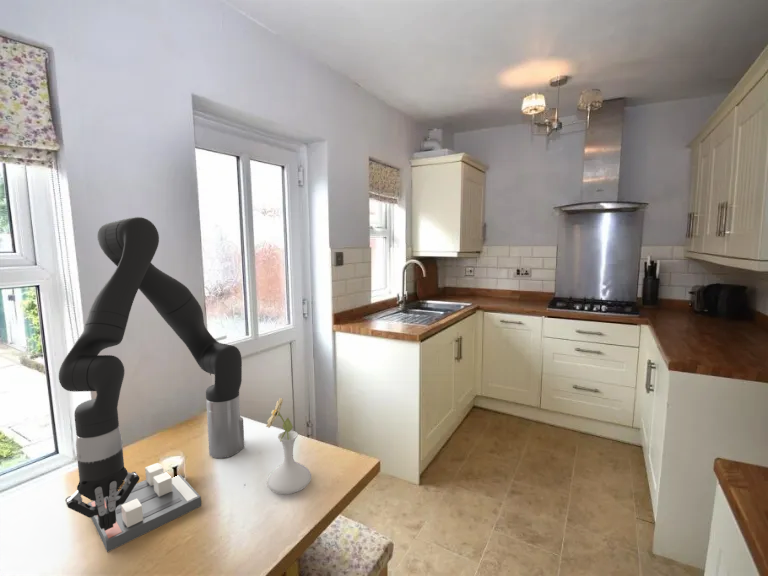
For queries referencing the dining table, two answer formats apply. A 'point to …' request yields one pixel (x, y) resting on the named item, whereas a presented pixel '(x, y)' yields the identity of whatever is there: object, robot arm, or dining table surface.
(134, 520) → the block
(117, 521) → the block
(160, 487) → the block
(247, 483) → the dining table surface
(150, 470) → the block
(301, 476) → the flower in vase
